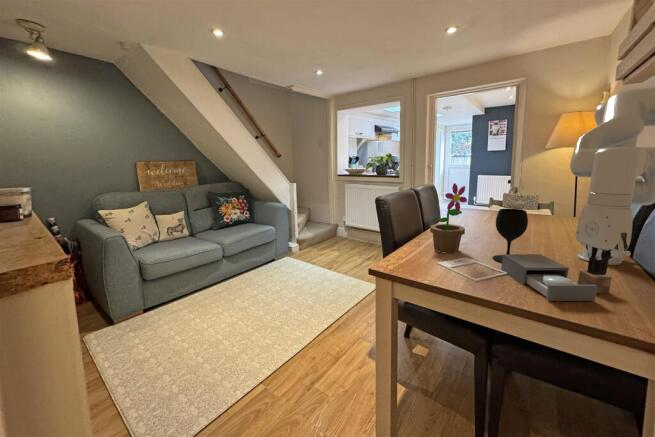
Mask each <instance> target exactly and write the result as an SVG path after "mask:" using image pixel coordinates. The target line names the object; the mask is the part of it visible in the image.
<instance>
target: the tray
mask: <svg viewBox="0 0 655 437" xmlns="http://www.w3.org/2000/svg"><path fill="white" fill-rule="evenodd" d="M545 275H556V276H561V275H560V274H544V273H542V274H539V273H534V274H531V273H530V274H529V273H528V274H527V273H526V282H525V284H527V285H529V287H531V288H533V289H534V290H536V291H537V292H539V293H541V294H542V295H543V296H544V297H545V299H546V300H547V301H548V302H551V301H552V302H554V301H557V302H558V301H559V302H560V301H562V302H565V301H568V302H572V301H573V302H574V301H575V302H595V301H596V296H597V293H596V292H597V285H585V284H578V283H576V282H574V281H573V284H548V287H546V286H545V285H543V277H544V276H545ZM561 277H563V276H561Z"/></svg>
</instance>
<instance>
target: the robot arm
mask: <svg viewBox="0 0 655 437" xmlns="http://www.w3.org/2000/svg"><path fill="white" fill-rule="evenodd" d="M594 121H595V123H596V125H597V126H594V127H593V128H591V129H590V130H589V131H587V132H586V133H583V135H581V136H580V137H579V139H578V140H577V142H576V143H575V145H574V148H573V151H572V154H571V159H570V164H569V166H570V167H569V168H570V172H571V174H573V176H575V177H579V178H590V181H589V188H588V195H587V202H586V203H585V204H584V205H583V207H582V210H581V212H580V214H579V218H578V222H577V226H576V231H575V240H576V241H577V242H578V243H580V245H581V246H582V247H583V248H582V251H580V252H577V255H576V256H577V258H578V259H581V260H583V261H585V262H588V263H587V270H586V271H587V272H588V273H591V274H593V275H605V274H606V275H607V270H608V266H618V265H622V263H623V260H622V258H623V257H630V256H631V254H632V253H631V251H630V250H628V249H629V246H630V244H631V240H632V234H633V233H632V232H633V208H631V207H632V206H651V205H653V204H655V146H641V147H639V146H637V142H638V136H640V134H642V132H643V131H644V129H645V127H650V126H651V127H652V126H653V127H654V126H655V86H650V87H649V86H648V87H642V88H636V89H628V90H623V91H620V92H617V93H615V94H613V95H612V96H610V98H609V99H608V100H607V102H604V103H602V104H599V105H598V106H597V107H596V108H595V110H594Z"/></svg>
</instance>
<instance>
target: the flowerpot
mask: <svg viewBox="0 0 655 437" xmlns="http://www.w3.org/2000/svg"><path fill="white" fill-rule="evenodd" d="M465 191H466V186H465V185H462V186H461V187H460V188H458V185H457V184H456V183H452V193H451V192H448V193H445V195H444V196H445V198H446V199H449V200H450V201H449V202H448V204H447V208H446V209H447V212H446V217H441V218H439V220H438V222H440V223H436V224H432V225H430V231H429V232H430V233H432V240H433V241H432V242H433V250H434V249H435V251H436V250H437V251H436V252H438V251H440V252H439V253H442V252H445V253H444V254H456V253H458V252H459V249H460V246H461V245H460V244H461V241H462V236H463V235H465V233H466V232H465V231H466V229H465V227H464V226H462V225H458V224H452V223H451V224H449V222H450V216H453V217H454V216H459V215H461V214H462V213H463V211H461V203H467V201H468V199H467V197H465V196H462V195H463V194H464V192H465ZM453 207H454V208H453ZM455 252H456V253H455Z"/></svg>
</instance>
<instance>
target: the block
mask: <svg viewBox="0 0 655 437" xmlns="http://www.w3.org/2000/svg"><path fill="white" fill-rule="evenodd" d="M612 278H613V277H612V276H610V275H608V274H607V273H606V274H605V275H593V274H591V273H588V272H587V270H579V274H578V280H577V284H585V285H597V292H596V294H609V293H610V288H611V283H612Z"/></svg>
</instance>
